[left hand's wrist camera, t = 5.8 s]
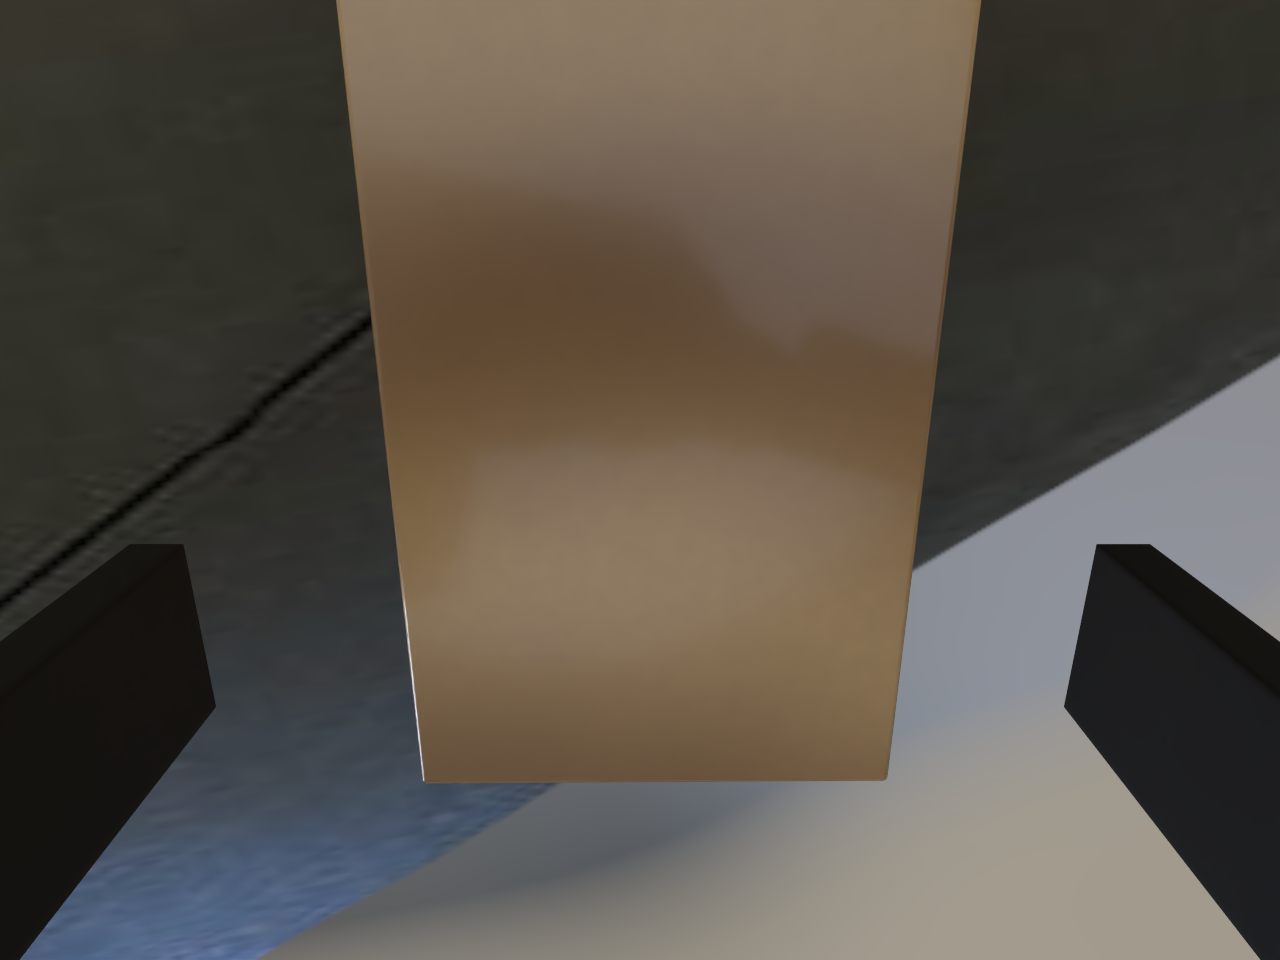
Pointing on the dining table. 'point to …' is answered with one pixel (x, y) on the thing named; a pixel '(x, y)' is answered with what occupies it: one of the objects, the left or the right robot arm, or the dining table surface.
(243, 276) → the dining table surface
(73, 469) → the dining table surface
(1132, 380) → the dining table surface
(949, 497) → the dining table surface
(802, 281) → the box
